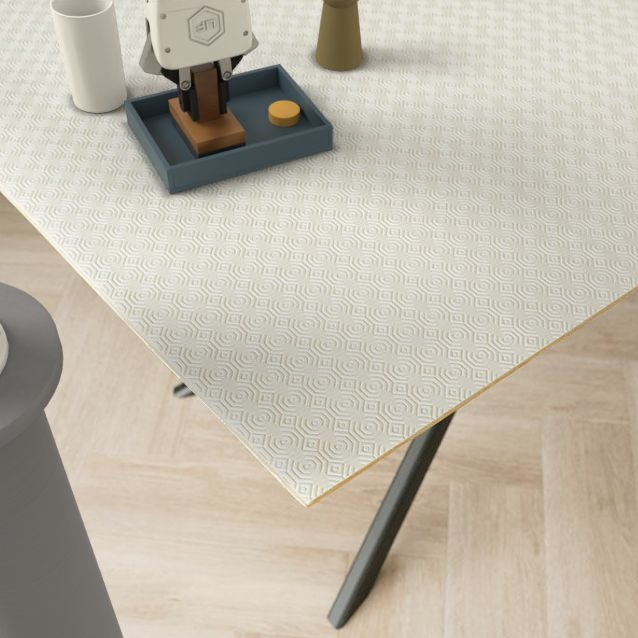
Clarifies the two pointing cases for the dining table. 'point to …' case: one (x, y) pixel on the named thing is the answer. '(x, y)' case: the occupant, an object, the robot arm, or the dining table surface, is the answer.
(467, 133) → the dining table surface
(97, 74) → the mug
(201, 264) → the dining table surface
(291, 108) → the orange disc
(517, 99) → the dining table surface
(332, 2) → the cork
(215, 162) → the tray
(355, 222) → the dining table surface
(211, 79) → the brush
